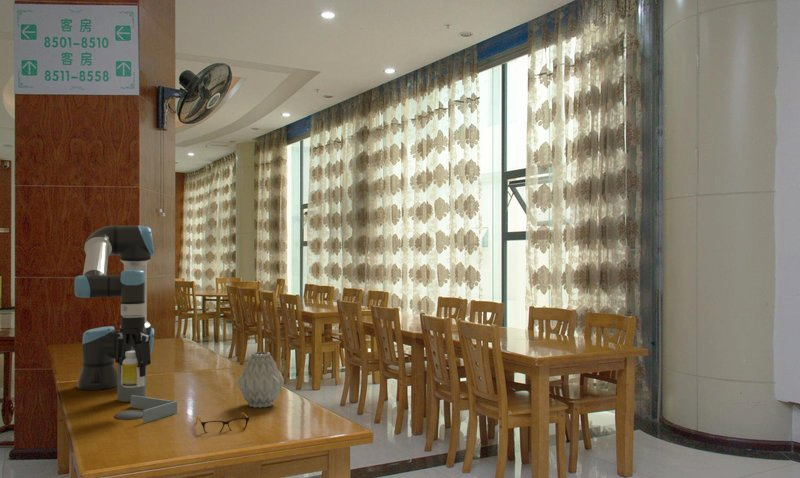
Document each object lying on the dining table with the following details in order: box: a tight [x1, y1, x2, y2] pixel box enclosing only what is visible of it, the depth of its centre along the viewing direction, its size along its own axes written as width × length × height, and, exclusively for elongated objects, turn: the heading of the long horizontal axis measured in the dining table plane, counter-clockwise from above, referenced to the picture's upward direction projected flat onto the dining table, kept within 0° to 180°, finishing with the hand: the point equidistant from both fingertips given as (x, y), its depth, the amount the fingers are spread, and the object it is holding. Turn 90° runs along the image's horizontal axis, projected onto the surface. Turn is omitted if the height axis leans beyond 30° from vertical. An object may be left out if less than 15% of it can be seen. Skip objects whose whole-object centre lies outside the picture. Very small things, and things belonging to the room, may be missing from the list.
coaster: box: [114, 409, 144, 420], centre depth 226 cm, size 11×11×1 cm
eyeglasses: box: [196, 411, 250, 434], centre depth 214 cm, size 14×14×4 cm
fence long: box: [130, 395, 174, 410], centre depth 233 cm, size 19×1×4 cm, turn 64°
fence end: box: [142, 400, 178, 424], centre depth 223 cm, size 1×14×4 cm, turn 153°
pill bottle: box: [122, 350, 138, 388], centre depth 226 cm, size 6×6×12 cm
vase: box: [237, 351, 285, 409], centre depth 240 cm, size 16×16×18 cm
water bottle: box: [117, 327, 147, 403], centre depth 249 cm, size 10×10×28 cm
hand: (132, 385), depth 226 cm, fingers closed on pill bottle, 6 cm apart
